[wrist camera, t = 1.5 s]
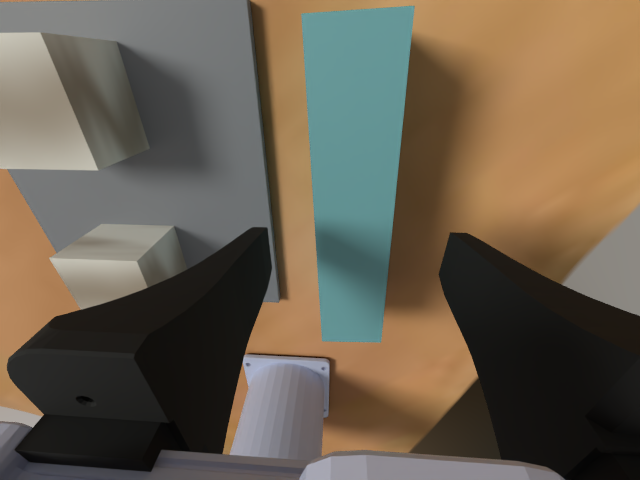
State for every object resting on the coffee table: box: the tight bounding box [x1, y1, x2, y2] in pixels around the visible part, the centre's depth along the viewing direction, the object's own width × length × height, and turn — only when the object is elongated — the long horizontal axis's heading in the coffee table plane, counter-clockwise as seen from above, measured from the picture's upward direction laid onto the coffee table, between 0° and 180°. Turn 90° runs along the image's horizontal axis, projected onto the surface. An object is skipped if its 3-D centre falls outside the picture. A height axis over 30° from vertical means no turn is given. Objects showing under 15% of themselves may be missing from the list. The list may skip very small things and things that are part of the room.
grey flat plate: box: [0, 0, 280, 302], centre depth 18 cm, size 18×16×1 cm
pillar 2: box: [49, 224, 187, 310], centre depth 18 cm, size 5×5×4 cm
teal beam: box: [302, 6, 414, 342], centre depth 15 cm, size 16×4×5 cm, turn 3°
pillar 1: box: [0, 32, 150, 170], centre depth 13 cm, size 5×5×4 cm
